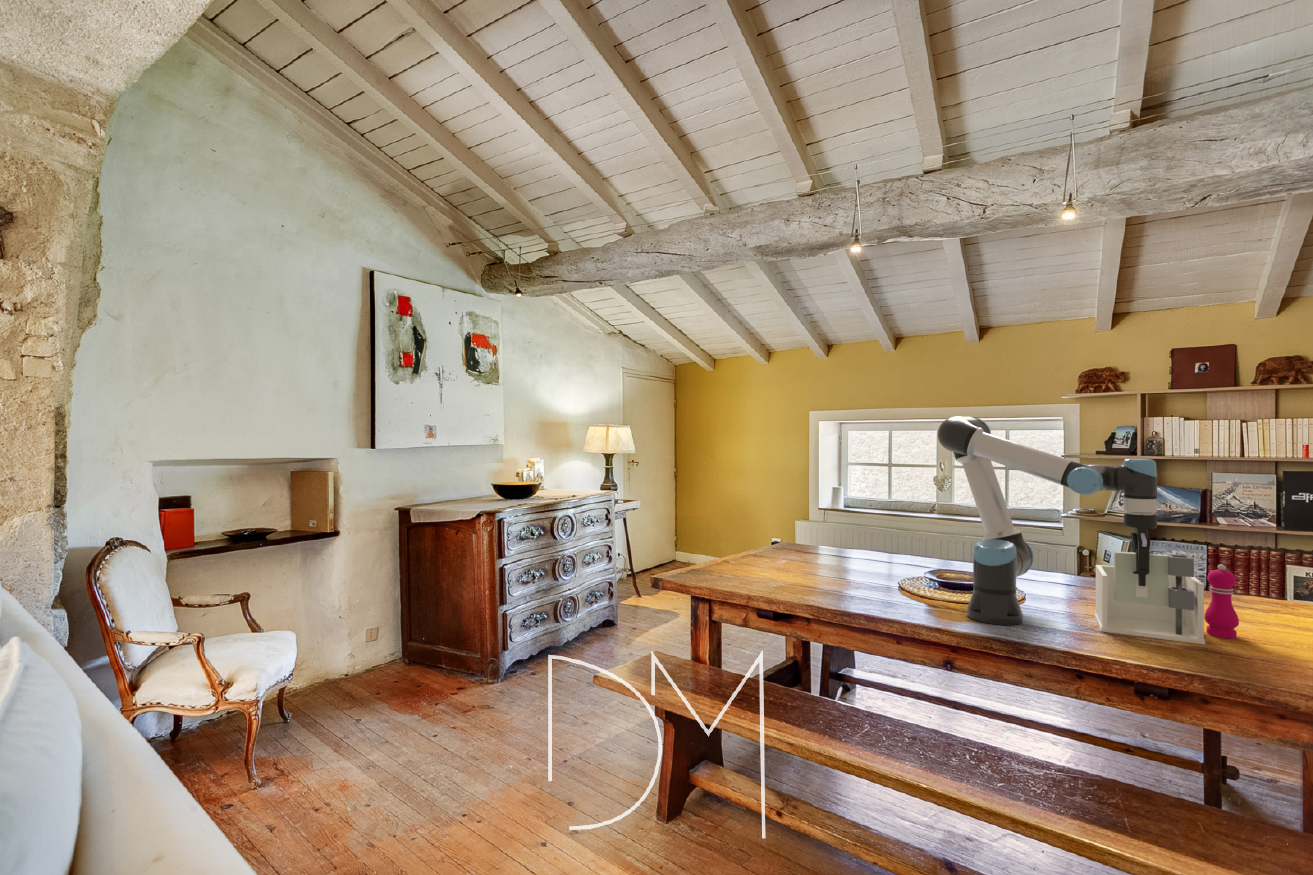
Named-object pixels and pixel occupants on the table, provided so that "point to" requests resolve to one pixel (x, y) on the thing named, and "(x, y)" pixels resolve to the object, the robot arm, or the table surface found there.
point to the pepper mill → (1221, 604)
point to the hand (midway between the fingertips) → (1140, 595)
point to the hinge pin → (1179, 611)
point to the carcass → (1148, 612)
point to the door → (1154, 580)
